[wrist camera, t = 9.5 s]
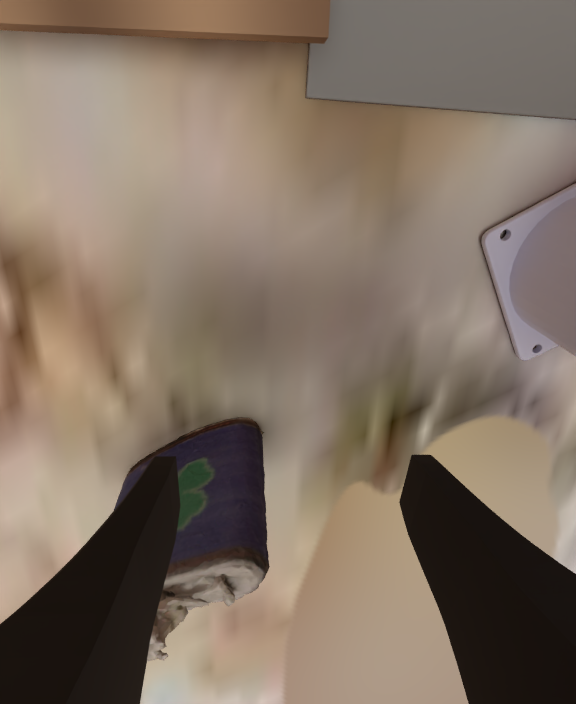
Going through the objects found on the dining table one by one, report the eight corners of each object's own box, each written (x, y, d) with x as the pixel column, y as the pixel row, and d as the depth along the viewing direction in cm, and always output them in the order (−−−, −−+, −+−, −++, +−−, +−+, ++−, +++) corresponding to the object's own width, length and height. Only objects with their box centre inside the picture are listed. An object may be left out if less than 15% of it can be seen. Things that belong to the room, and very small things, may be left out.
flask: (142, 497, 25) (76, 705, 16) (113, 466, 24) (22, 674, 15) (270, 440, 24) (282, 630, 15) (247, 405, 23) (243, 588, 13)
